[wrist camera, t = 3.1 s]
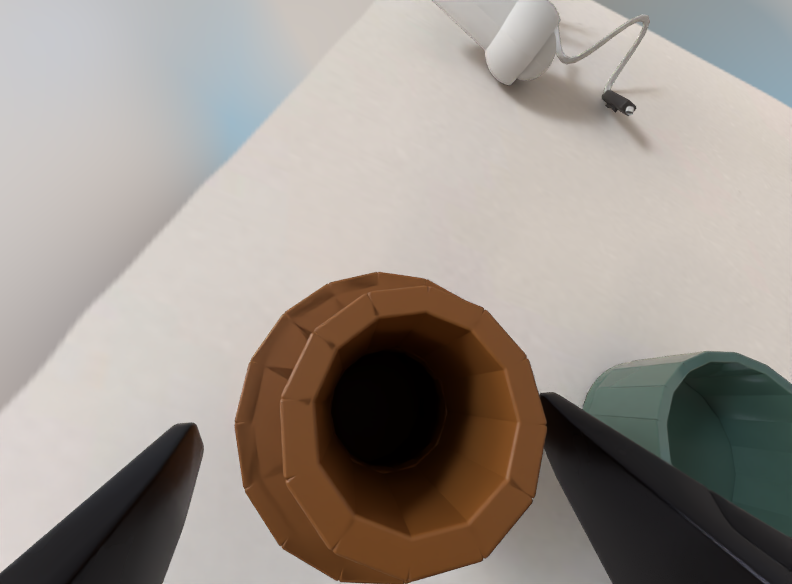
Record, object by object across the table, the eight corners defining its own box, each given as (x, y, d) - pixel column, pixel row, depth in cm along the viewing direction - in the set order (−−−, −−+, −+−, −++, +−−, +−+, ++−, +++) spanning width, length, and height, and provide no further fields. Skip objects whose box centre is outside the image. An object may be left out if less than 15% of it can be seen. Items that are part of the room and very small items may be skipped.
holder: (755, 453, 18) (883, 471, 14) (677, 589, 15) (807, 664, 11) (637, 331, 20) (719, 312, 15) (547, 434, 17) (616, 447, 12)
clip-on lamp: (601, 97, 31) (459, -40, 28) (677, 32, 25) (510, -149, 22) (576, 170, 26) (399, 11, 23) (664, 109, 20) (444, -114, 17)
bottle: (446, 409, 16) (730, 443, 4) (353, 497, 15) (379, 1017, 2) (375, 320, 17) (438, 137, 5) (280, 392, 16) (27, 373, 3)
